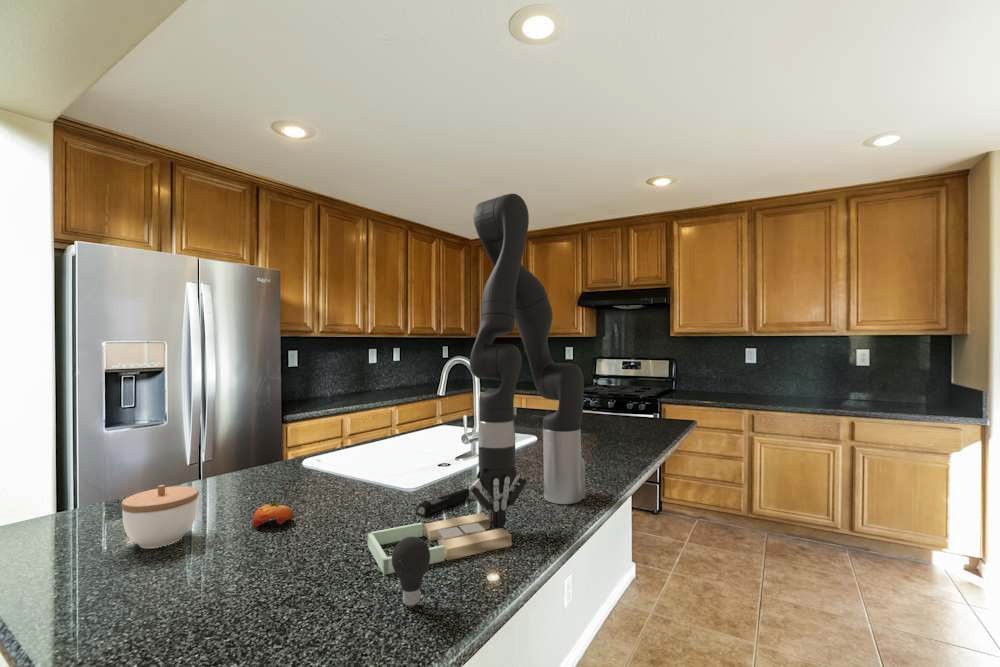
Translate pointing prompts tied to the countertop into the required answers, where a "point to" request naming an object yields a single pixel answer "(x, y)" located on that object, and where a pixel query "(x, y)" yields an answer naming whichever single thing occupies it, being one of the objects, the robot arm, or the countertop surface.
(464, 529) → the metal chip
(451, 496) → the electric trimmer
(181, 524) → the lidded bowl
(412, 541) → the light bulb
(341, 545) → the countertop surface
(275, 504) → the tomato
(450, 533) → the metal chip
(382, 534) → the box
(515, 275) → the robot arm
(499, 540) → the slot rails
